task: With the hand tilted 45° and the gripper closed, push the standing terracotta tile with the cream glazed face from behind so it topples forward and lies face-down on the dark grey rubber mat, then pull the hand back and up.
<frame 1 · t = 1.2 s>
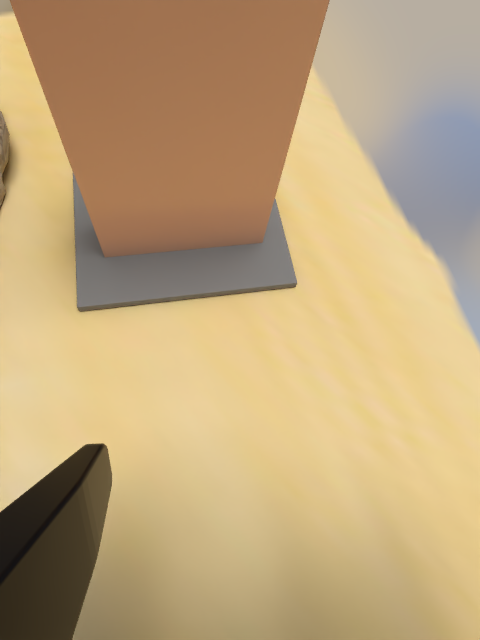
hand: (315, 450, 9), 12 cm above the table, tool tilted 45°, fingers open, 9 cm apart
mat: (171, 160, 26), on the table
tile: (183, 233, 24), resting on mat
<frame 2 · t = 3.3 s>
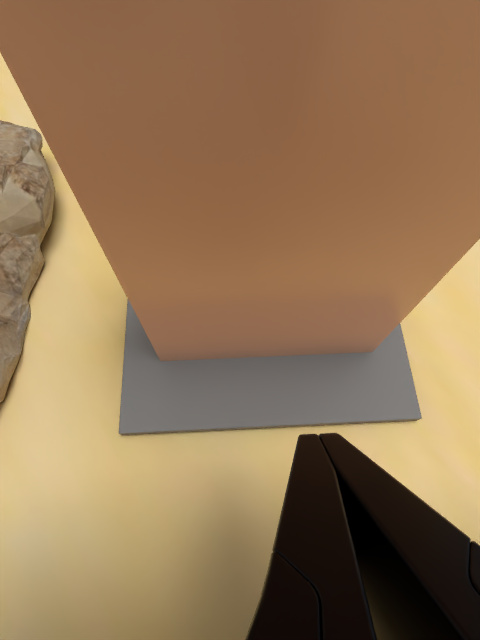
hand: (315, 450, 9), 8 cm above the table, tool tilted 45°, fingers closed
mat: (254, 225, 21), on the table
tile: (265, 332, 18), resting on mat
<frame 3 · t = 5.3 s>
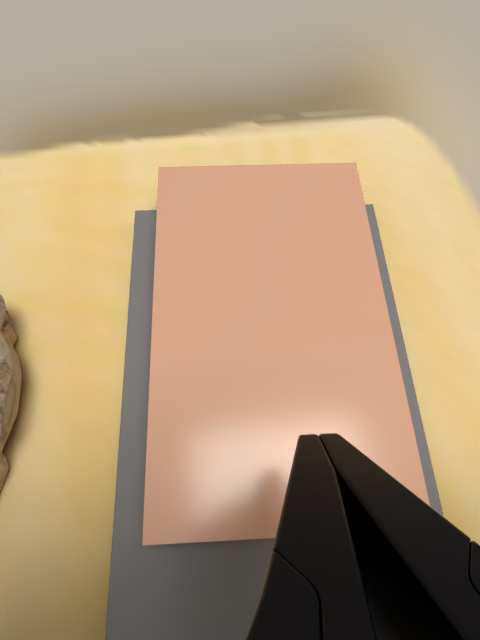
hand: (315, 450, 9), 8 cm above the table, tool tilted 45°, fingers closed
mat: (269, 407, 17), on the table
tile: (286, 534, 13), point 2 cm above the table, tilted 90°, touching mat
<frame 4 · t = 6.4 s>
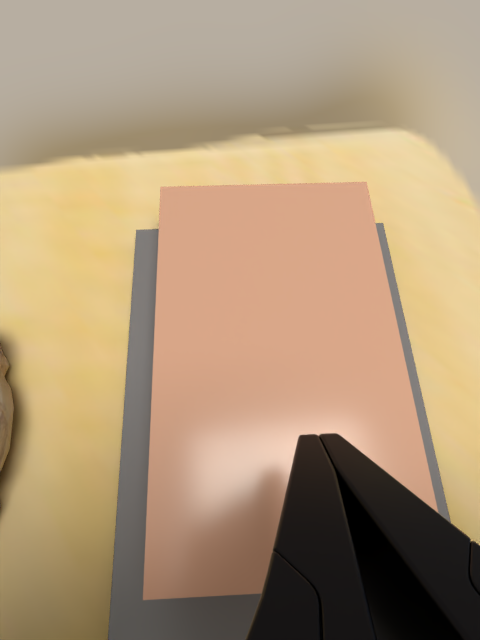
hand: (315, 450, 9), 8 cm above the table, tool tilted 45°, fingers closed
mat: (276, 440, 16), on the table
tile: (294, 583, 13), point 2 cm above the table, tilted 90°, touching mat
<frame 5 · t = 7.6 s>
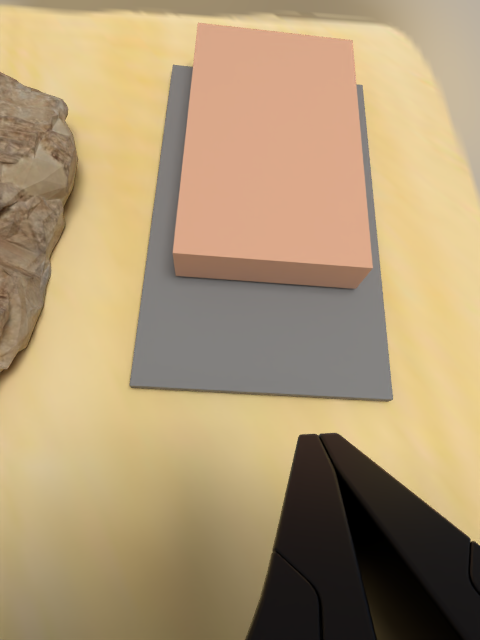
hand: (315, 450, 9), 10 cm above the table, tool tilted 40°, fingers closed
mat: (265, 213, 22), on the table
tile: (270, 272, 19), point 2 cm above the table, tilted 90°, touching mat
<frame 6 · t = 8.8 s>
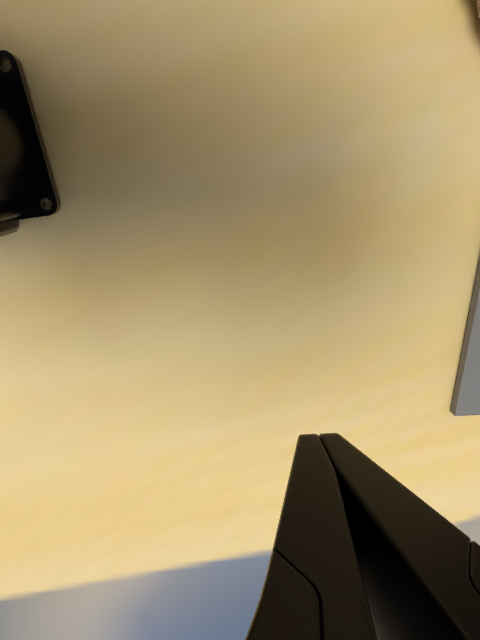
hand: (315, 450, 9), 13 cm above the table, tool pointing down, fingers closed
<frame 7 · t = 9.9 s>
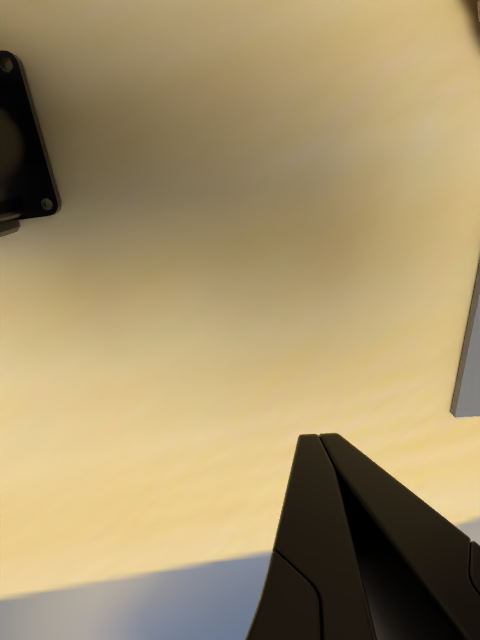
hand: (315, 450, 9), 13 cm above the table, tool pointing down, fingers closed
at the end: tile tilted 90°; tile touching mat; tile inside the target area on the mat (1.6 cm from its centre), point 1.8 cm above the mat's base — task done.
